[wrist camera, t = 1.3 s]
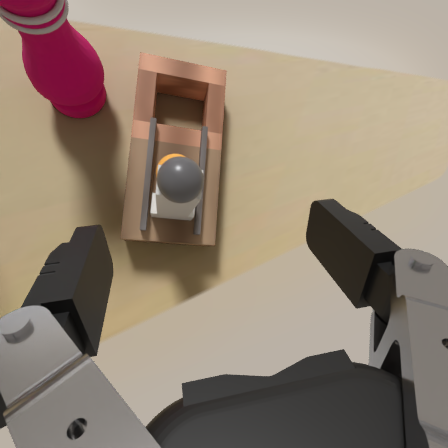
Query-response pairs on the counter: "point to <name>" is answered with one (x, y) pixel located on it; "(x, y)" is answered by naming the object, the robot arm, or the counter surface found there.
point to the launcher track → (173, 150)
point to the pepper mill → (57, 56)
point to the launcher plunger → (177, 189)
